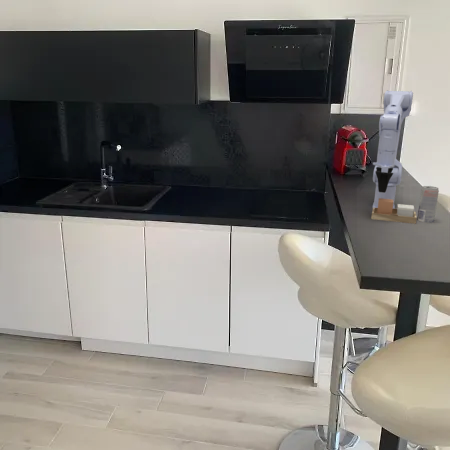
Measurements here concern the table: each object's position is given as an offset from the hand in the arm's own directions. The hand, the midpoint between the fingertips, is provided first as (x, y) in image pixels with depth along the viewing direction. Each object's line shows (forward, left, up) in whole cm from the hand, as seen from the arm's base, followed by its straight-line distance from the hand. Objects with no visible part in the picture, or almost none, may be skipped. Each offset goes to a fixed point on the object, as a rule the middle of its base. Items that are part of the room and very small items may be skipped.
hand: (382, 190), depth 159 cm
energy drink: (-1, +15, -10) cm, 18 cm away
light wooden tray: (+1, +5, -10) cm, 11 cm away
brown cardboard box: (+1, +2, -9) cm, 9 cm away
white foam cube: (+1, +8, -9) cm, 12 cm away
